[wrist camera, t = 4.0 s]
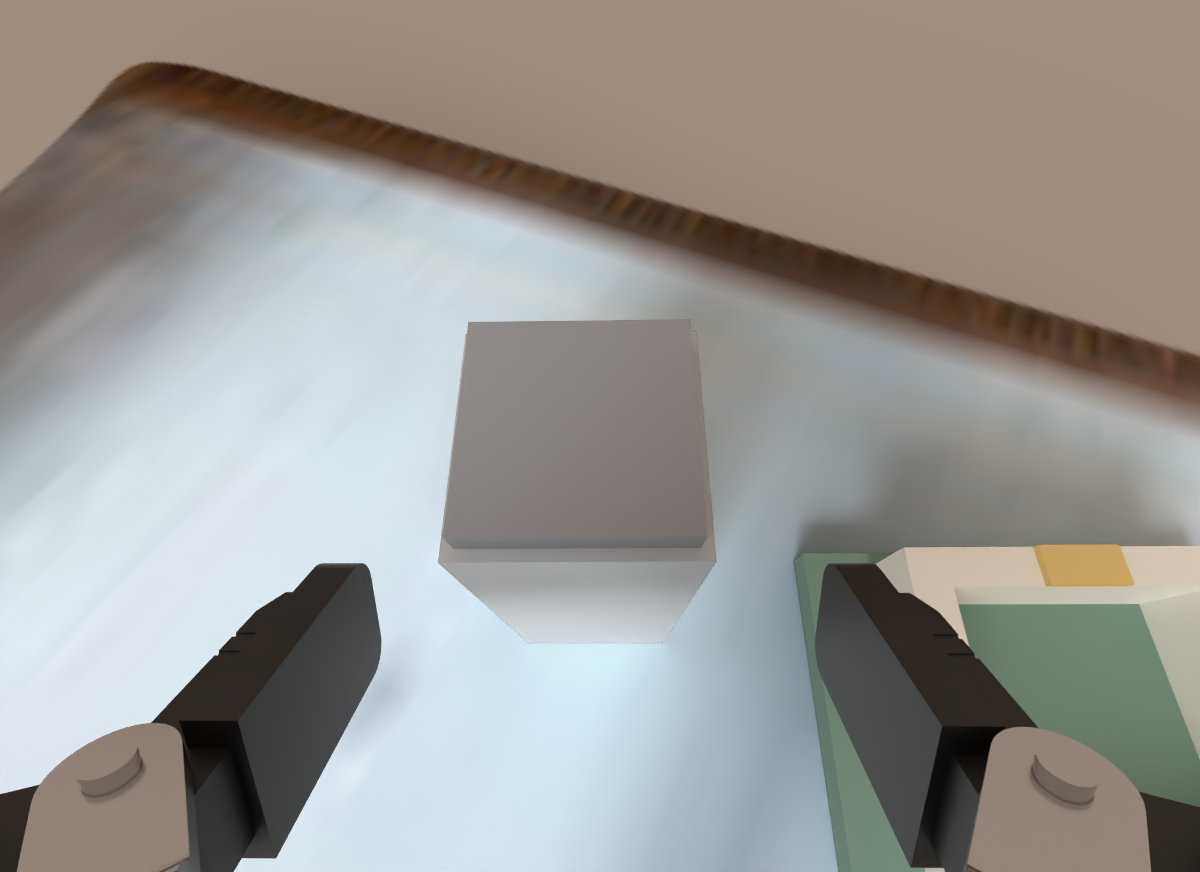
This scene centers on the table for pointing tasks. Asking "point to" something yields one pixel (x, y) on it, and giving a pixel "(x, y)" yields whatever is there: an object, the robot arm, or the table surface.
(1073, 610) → the board
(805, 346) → the table surface
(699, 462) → the grey tall block
